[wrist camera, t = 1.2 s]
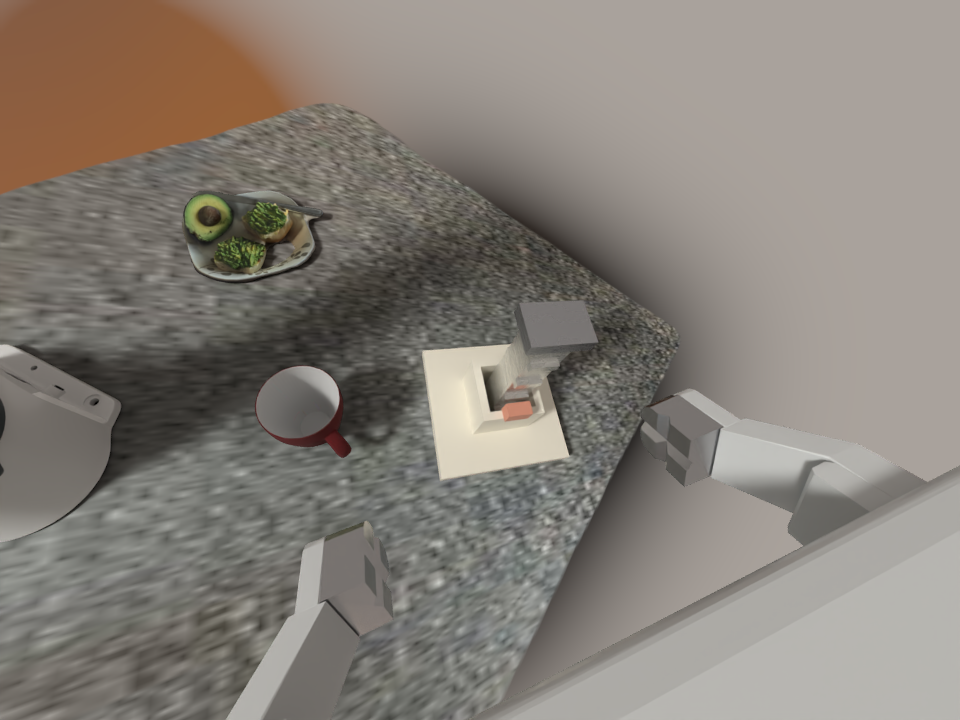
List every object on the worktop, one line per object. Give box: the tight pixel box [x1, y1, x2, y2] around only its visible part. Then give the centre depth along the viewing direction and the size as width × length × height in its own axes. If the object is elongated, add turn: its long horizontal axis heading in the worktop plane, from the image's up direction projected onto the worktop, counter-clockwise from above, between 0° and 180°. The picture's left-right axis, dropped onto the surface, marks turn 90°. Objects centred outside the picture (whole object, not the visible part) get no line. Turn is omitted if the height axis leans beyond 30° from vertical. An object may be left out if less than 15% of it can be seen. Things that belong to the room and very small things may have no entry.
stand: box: [422, 344, 569, 481], centre depth 48 cm, size 18×18×10 cm
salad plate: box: [182, 191, 323, 283], centre depth 54 cm, size 19×18×5 cm
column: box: [485, 300, 598, 412], centre depth 42 cm, size 6×5×24 cm
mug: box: [255, 365, 351, 458], centre depth 41 cm, size 11×8×10 cm
